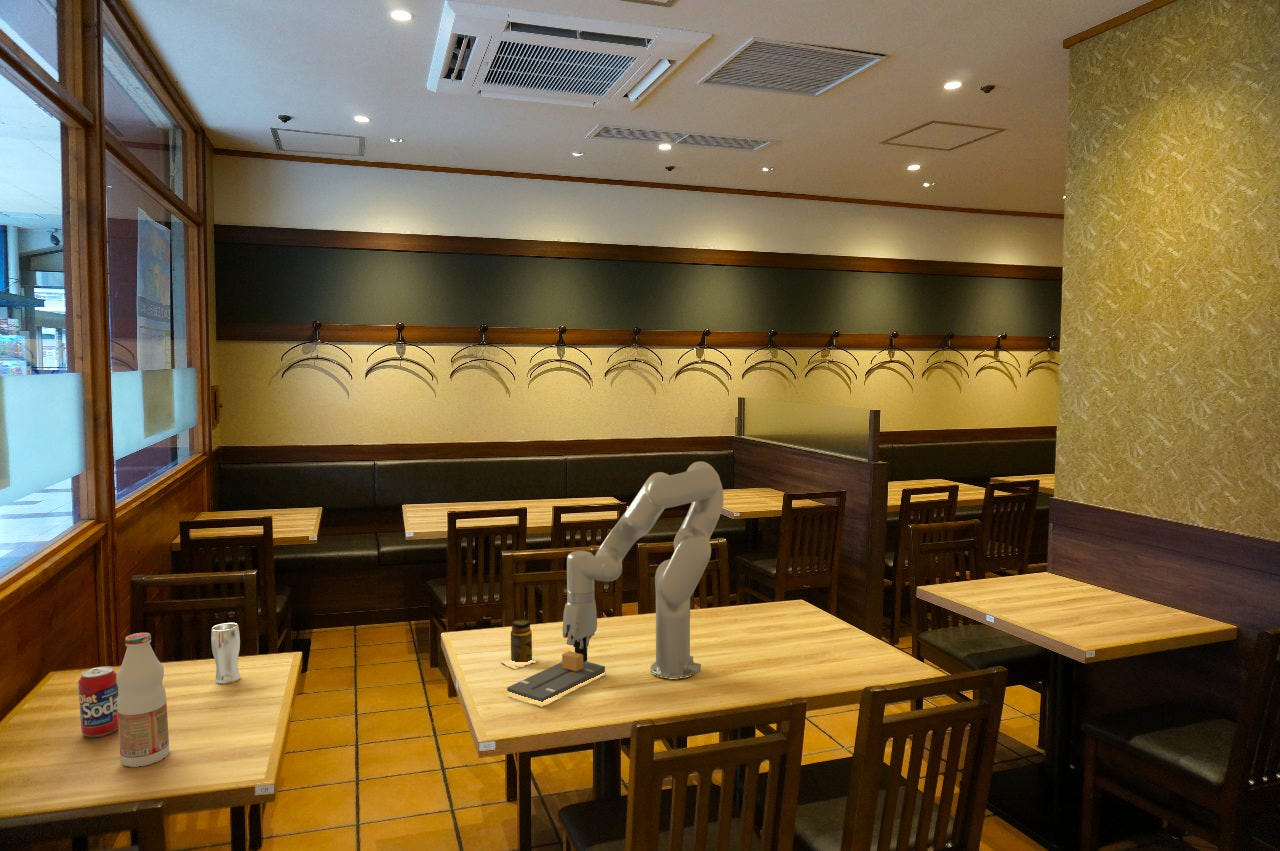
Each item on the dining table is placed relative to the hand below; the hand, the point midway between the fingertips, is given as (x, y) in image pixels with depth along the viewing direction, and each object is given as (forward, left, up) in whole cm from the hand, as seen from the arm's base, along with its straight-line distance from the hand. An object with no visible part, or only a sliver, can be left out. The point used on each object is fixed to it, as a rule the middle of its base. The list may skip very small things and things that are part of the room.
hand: (581, 660), depth 235 cm
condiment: (+20, +4, -4) cm, 21 cm away
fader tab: (0, +4, -1) cm, 4 cm away
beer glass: (+77, +59, -4) cm, 97 cm away
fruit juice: (+49, +93, -4) cm, 105 cm away
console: (0, +10, -4) cm, 11 cm away
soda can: (+71, +93, -4) cm, 117 cm away
